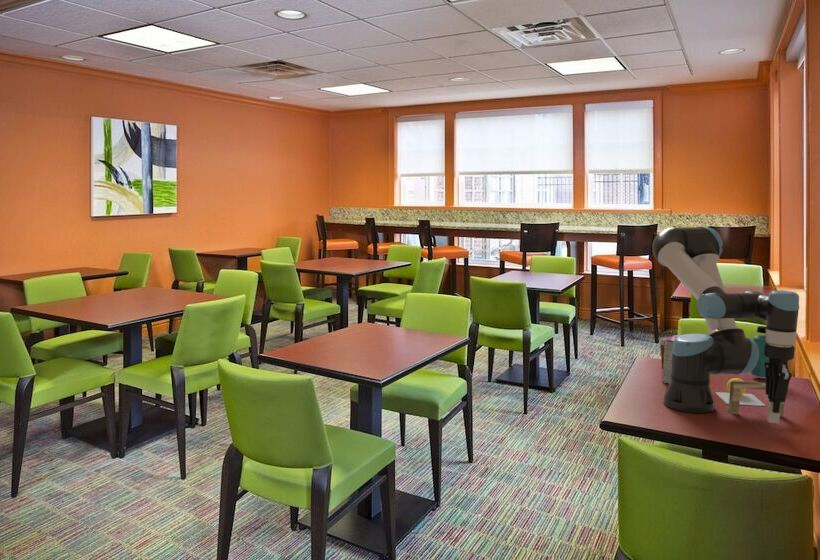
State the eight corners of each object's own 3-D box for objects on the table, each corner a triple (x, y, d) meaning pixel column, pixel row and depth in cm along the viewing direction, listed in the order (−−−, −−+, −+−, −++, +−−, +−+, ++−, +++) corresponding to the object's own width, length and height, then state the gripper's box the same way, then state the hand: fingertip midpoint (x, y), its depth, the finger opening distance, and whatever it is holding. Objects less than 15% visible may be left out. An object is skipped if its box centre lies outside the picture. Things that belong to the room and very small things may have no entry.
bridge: (783, 416, 190) (785, 386, 189) (731, 413, 192) (734, 384, 191) (779, 413, 193) (781, 383, 191) (728, 410, 195) (730, 381, 194)
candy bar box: (671, 376, 232) (674, 334, 230) (685, 378, 229) (688, 336, 227) (661, 382, 224) (663, 339, 222) (675, 385, 221) (678, 341, 219)
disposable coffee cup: (653, 365, 247) (654, 336, 245) (675, 365, 248) (677, 336, 246) (665, 372, 238) (667, 342, 236) (688, 371, 239) (690, 341, 237)
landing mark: (726, 404, 201) (726, 403, 201) (715, 392, 213) (715, 392, 213) (765, 406, 199) (765, 405, 199) (752, 394, 211) (752, 394, 211)
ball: (723, 391, 214) (729, 397, 208) (725, 375, 213) (730, 380, 207) (742, 392, 213) (748, 398, 207) (743, 375, 212) (749, 381, 206)
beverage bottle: (773, 381, 227) (777, 328, 224) (755, 381, 227) (759, 328, 224) (763, 376, 233) (767, 324, 230) (746, 375, 233) (750, 324, 230)
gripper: (804, 350, 169) (796, 431, 173) (784, 339, 182) (777, 415, 185) (775, 349, 171) (768, 429, 174) (757, 338, 183) (750, 413, 187)
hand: (772, 421), depth 180 cm, fingers closed
